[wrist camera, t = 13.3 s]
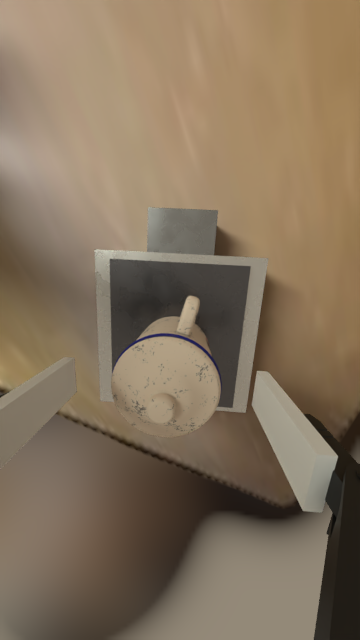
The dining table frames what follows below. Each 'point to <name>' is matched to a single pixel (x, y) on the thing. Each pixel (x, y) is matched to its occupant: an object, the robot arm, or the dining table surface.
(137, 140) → the dining table surface
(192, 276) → the white flat block
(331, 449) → the robot arm
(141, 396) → the teacup with lid
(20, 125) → the dining table surface
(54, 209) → the dining table surface
